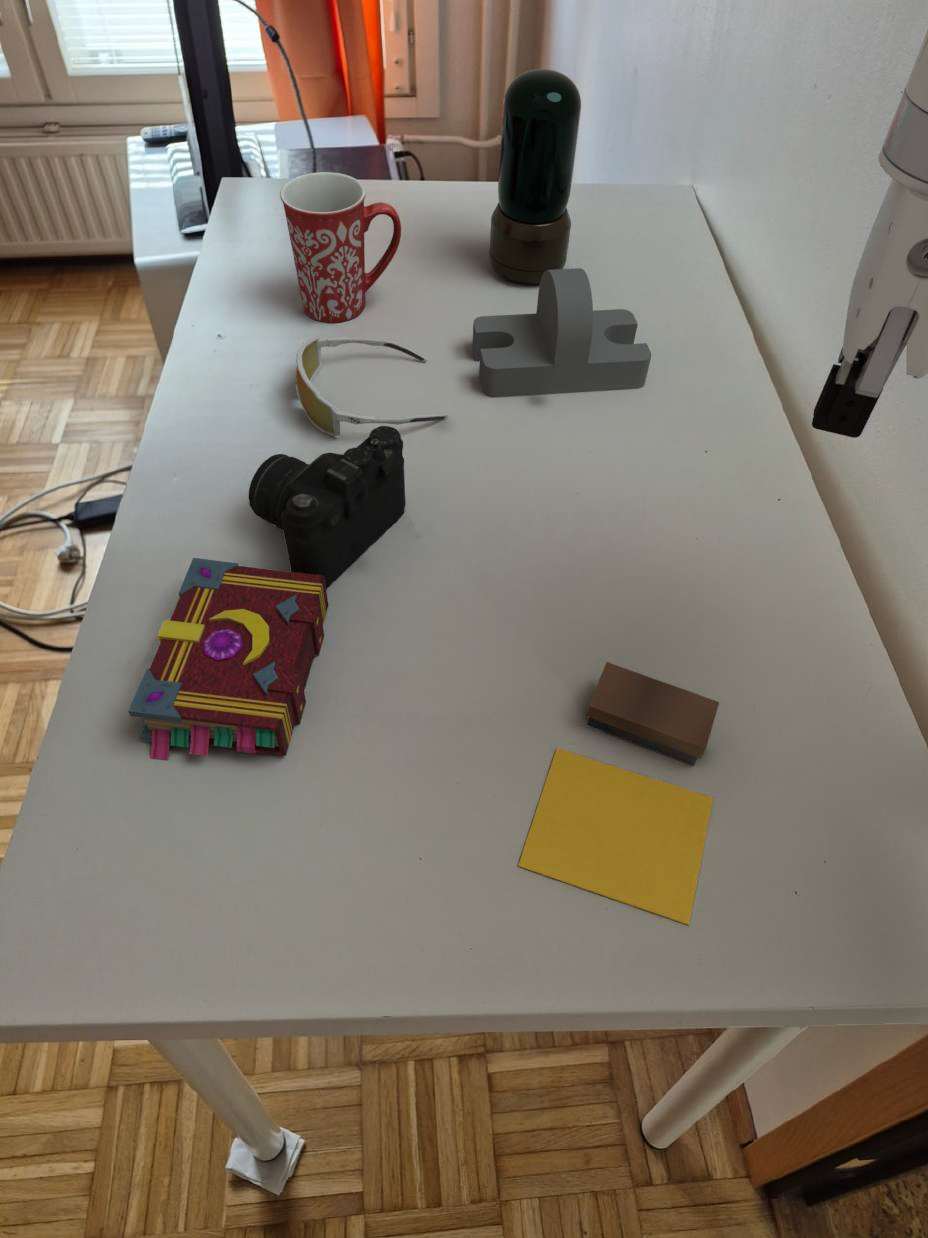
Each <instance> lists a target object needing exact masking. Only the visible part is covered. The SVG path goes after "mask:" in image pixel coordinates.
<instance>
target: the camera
mask: <svg viewBox="0 0 928 1238" xmlns="http://www.w3.org/2000/svg"><path fill="white" fill-rule="evenodd" d="M403 450H404V441H403V440H402V438H401V433H400V431H399V430H398V429H397V428H395V427H393V426H389V425H380V426H377V427H375V428H373V429H372V430H371V431H370V432H369V434H368V437H367V438H366V439H364V441H362V442H361V443H360V444H359V445H357V446H356V447H351V448H349V449H346V450H345V451H344V453H343V454H341V453H335V452H325V453H322V454H320V455H318V456H317V457H316V458H315V459H314V460H313V461H311V463H307V462H305V461H303V460H301V459H299V458H297V457H295V456H289V455H287V454H282V453H276V454H273V455H271V456H270V457H268V458H267V459H265V460H264V461H263V462H262V463H261V464H260V465H259V466H258V468H257V470H256V471H255V473H254V474H253V477H252V479H251V481H250V484H249V489H248V496H247V497H248V503H249V507H250V509H251V510H252V512H253V513H254V515H255V516H257V517H259V518H260V519H262V520H263V521H264V522H267V523H268V524H269V525H272V526H274V527H275V528H276V529H279V530H280V531H282V532H283V536H284V541H285V547H286V552H287V557H288V563H289V568H290V572H297V573H305V574H314V575H323V576H325V583H326V590H328V589H329V588H330V587H331V586H332V584H333V583H334V582H336V581H337V580H338V579H339V578H340V577H341V576H342V575H343V574H344V573H345V572H346V571H347V570H348V569H349V568H350V567H351V566H352V565H353V564H354V563H355V562H357V560H359V559H360V558H361V556H363V555H364V554H365V553H366V552H367V551H368V550H369V548H370V547H371V546H372V545H374V544H375V543H376V542H378V540H380V538H381V537H382V536H383V535H384V534H385V533H386V532H387V531H388V530H389V529H391V528H392V527H393V526H394V525H395V524H396V523H397V522H398V521H399V520H400V519H401V518H402V516H403V515H404V513H405V510H406V503H407V502H406V486H405V458H404V455H403Z"/></svg>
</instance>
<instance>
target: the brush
mask: <svg viewBox="0 0 928 1238" xmlns="http://www.w3.org/2000/svg"><path fill="white" fill-rule="evenodd" d="M719 706H720V701H719V700H715V699H713V698H710V697H707V696H704V695H701V694H698V693H695V692H693V691H690V690H687V689H684V688H681V687H678V686H675V685H673V684H670V683H667V682H664V681H662V680H659V679H656V678H654V677H651V676H648V675H645V674H642V673H639V672H638V671H637V672H636V671H634V670H632V669H628V668H625V667H622V666H619V665H617V664H614V663H611V662H609V661H606V662H605V665H604V667H603V669H602V672H601V674H600V676H599V679H598V682H597V684H596V687H595V688H594V691H593V693H592V697H591V699H590V701H589V704H588V707H587V710H586V714H585V716H586V717H587V722H586V726H587V727H590V728H593V729H595V730H598V731H600V732H603V733H606V734H609V735H611V736H613V737H616V738H619V739H621V740H624V741H627V742H630V743H632V744H635V745H638V746H641V747H643V748H645V749H648V750H651V751H654V752H656V753H659V754H662V755H664V756H667V757H670V758H672V759H675V760H678V761H679V762H680V761H681V762H683V763H686V764H689V765H691V766H695V764H696V762H697V760H698V759H702V757H703V756H704V753H705V751H706V749H707V745H708V742H709V739H710V736H711V733H712V729H713V725H714V722H715V719H716V716H717V712H718V709H719Z"/></svg>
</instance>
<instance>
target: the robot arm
mask: <svg viewBox="0 0 928 1238" xmlns="http://www.w3.org/2000/svg"><path fill="white" fill-rule="evenodd" d="M878 162H879V165H880V167H881V168H882V169H883V171H884V172H885V174H887V176H889V177H890V178H891V180H890V183H889V186H888V188H887V190H886V193H885V196H884V197H883V199H882V203H881V205H880V207H879V210H878V212H877V215H876V217H875V219H874V221H873V225H872V227H871V229H870V233H869V235H868V237H867V239H866V243H865V245H864V247H863V251H862V254H861V257H860V260H859V262H858V266H857V267H856V268H857V269H856V271H855V275H854V278H853V281H852V285H851V288H850V293H849V299H848V305H847V311H846V319H845V324H844V325H845V326H844V334H843V342H842V347H841V350H840V352H839V355H838V359H837V364H835V363H833V364H832V366H831V368H830V370H829V373H828V375H827V378H826V380H825V383H824V385H823V387H822V390H821V392H820V394H819V397H818V399H817V402H816V404H815V406H814V409H813V414H812V415H813V417H812V421H811V426H812V428H813V429H815V430H818V431H824V432H827V433H831V434H836V435H840V436H844V437H847V438H852V439H853V438H854V439H855V438H859V437H861V435H862V434H863V431H864V430H865V427H866V425H867V423H868V421H869V419H870V417H871V416H872V413H873V412H874V409H875V407H876V405H877V403H878V401H879V398H880V397H881V395H882V392H883V391H884V388H885V386H886V383H887V382H888V379H889V378H890V376H891V374H892V372H893V371H894V369H895V367H896V365H897V363H898V361H899V359H900V357H901V355H902V353H903V352H904V350H905V348H906V375H907V376H911V377H913V378H914V379H916V380H919V379H922V378H923V377H925V376H926V375H928V29H927V30H926V33H925V35H924V38H923V41H922V43H921V46H920V48H919V51H918V53H917V56H916V58H915V61H914V64H913V67H912V69H911V72H910V74H909V77H908V80H907V82H906V85H905V87H904V89H903V91H902V95H901V97H900V99H899V102H898V105H897V108H896V109H895V113H894V115H893V117H892V120H891V123H890V125H889V128H888V130H887V133H886V136H885V138H884V141H883V144H882V146H881V149H880V151H879V154H878ZM839 364H840V365H839Z"/></svg>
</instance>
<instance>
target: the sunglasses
mask: <svg viewBox="0 0 928 1238" xmlns="http://www.w3.org/2000/svg"><path fill="white" fill-rule="evenodd" d="M346 344H361V345H367V346H371V347H385V348H390V349H392V350H395V351H398V352H402V353H403V354H406V355H408V356H410V357H412V358H414V359H415V360H418V361H420V362H421V363H425V362H427V361H428V358H427V357H425V356H423V355H422V354H420V353H418V352H416V351H414V350H413V349H411V348H409V347H407V346H404V345H402V344H399V343H397V342H393V341H390V340H386V339H377V338H365V337H350V336H348V337H347V336H332V337H314V336H312V337H311V338H309V339H308V340H306V341H305V342H302V344H301V345H300V347H299V349H298V350H297V353H296V383H295V391H296V394H297V397H298V400H299V402H300V405H301V407H302V409H303V412H304V414H305V415H306V416H307V418H308V420H309V422H310V423H312V424H313V426H314V427H316V428H317V429H318V430H320V431H321V432H323V433H324V434H326V435H328V436H332V437H339V436H341V423H340V422H345V423H349V424H353V425H364V424H387V425H397V426H399V425H404V424H411V423H422V422H424V423H425V422H435V421H436V422H437V421H444V420H445V419H447V418H448V417H449V416H450V415H449V413H443V414H442V413H441V414H427V415H426V414H425V415H409V416H405V417H377V416H368V415H363V414H357V413H353V412H348V411H347V412H346V411H342V410H339V409H338V407H336V406H335V405H333V404H332V403H331V402H329V401H328V400H327V399H326V398H324V397H323V396H322V395H321V393H320V391H319V390H318V388H316V387H315V386H314V384H313V381H314V379H315V378H316V377H317V376H318V374H319V372H320V371H321V370H322V368H323V359H322V358H323V357H322V348H326V347H331V348H332V347H338V346H341V345H346Z"/></svg>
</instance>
